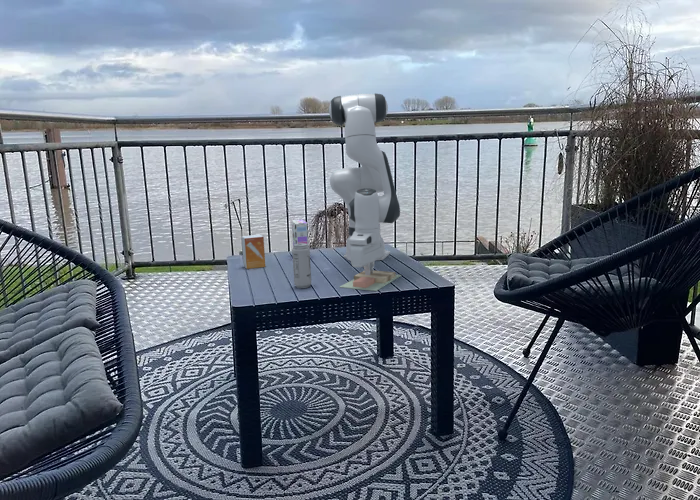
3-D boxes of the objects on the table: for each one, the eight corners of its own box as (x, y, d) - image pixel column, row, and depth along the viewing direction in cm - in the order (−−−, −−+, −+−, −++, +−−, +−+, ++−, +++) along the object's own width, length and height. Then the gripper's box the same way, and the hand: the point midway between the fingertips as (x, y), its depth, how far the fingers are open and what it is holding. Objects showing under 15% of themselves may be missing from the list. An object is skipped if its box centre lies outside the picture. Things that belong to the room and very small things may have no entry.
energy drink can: (312, 287, 180) (309, 245, 178) (294, 289, 180) (292, 246, 177) (310, 283, 186) (308, 242, 183) (294, 284, 185) (291, 243, 183)
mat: (367, 272, 198) (367, 272, 198) (401, 275, 192) (401, 275, 192) (339, 287, 179) (339, 286, 179) (376, 291, 173) (376, 290, 173)
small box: (246, 269, 213) (244, 238, 211) (243, 266, 219) (241, 236, 216) (266, 267, 216) (263, 236, 214) (262, 264, 222) (260, 234, 219)
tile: (362, 281, 185) (361, 276, 184) (374, 282, 182) (374, 277, 182) (353, 286, 179) (352, 281, 178) (366, 287, 176) (365, 282, 176)
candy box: (310, 260, 226) (308, 222, 223) (296, 261, 225) (294, 223, 222) (305, 254, 239) (303, 218, 236) (293, 255, 238) (291, 219, 235)
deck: (366, 274, 195) (366, 269, 195) (395, 277, 190) (395, 272, 189) (354, 281, 187) (353, 276, 186) (384, 284, 181) (384, 278, 181)
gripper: (372, 230, 191) (373, 267, 194) (346, 240, 174) (348, 280, 176) (388, 231, 188) (389, 268, 191) (363, 241, 171) (364, 281, 173)
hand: (369, 274), depth 183 cm, fingers closed
